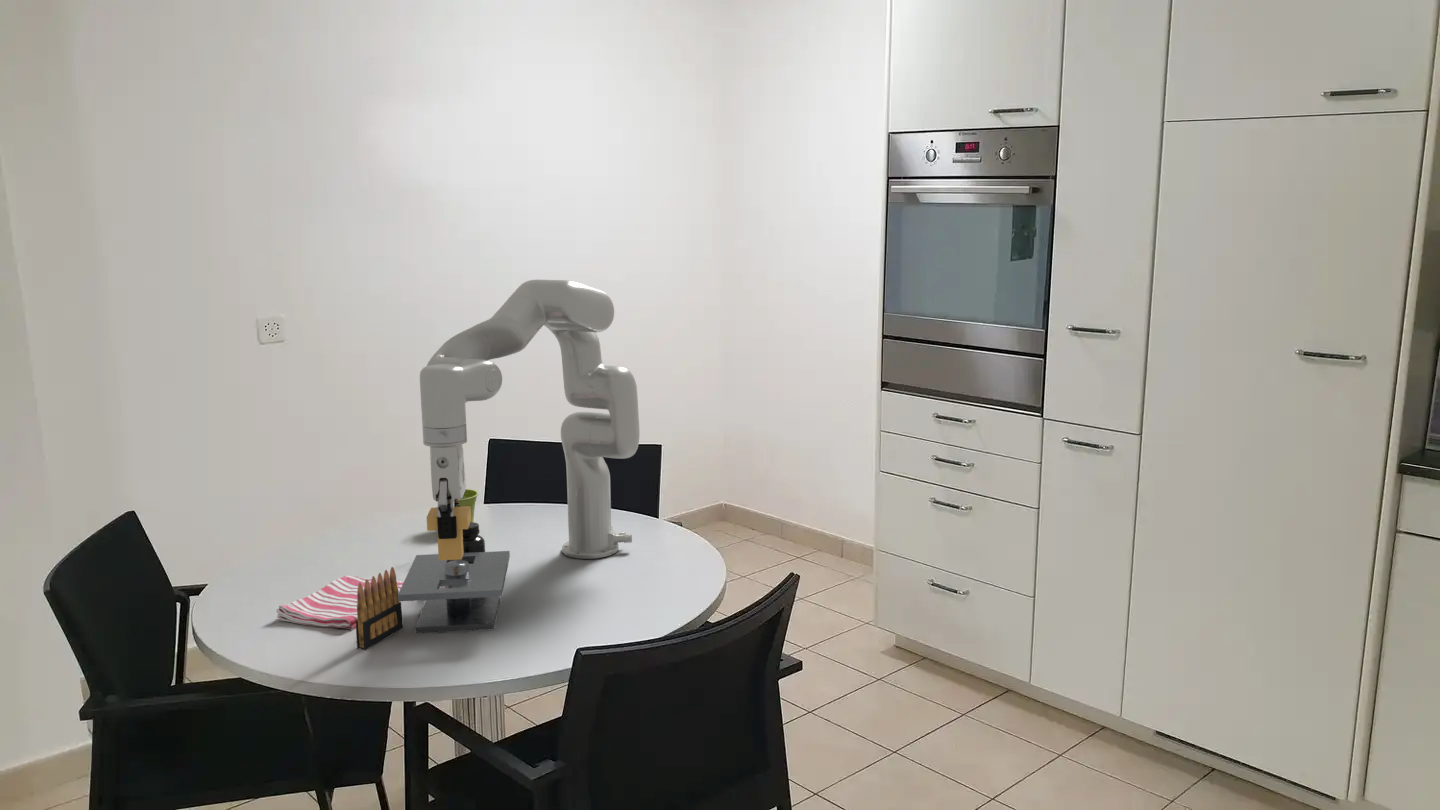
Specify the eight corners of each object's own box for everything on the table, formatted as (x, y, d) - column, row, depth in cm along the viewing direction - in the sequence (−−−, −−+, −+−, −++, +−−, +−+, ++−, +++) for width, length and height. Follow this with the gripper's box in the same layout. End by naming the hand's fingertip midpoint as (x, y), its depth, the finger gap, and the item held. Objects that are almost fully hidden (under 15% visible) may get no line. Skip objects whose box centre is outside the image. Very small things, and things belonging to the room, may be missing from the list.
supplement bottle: (493, 577, 223) (490, 522, 221) (475, 588, 217) (472, 531, 214) (464, 573, 225) (461, 518, 223) (446, 584, 219) (443, 528, 217)
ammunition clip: (395, 626, 197) (391, 564, 195) (403, 627, 197) (399, 565, 194) (356, 648, 187) (351, 583, 185) (365, 650, 187) (360, 585, 185)
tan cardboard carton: (472, 550, 196) (470, 506, 194) (469, 561, 190) (467, 515, 188) (433, 552, 195) (431, 507, 193) (429, 563, 189) (426, 517, 187)
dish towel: (273, 624, 200) (272, 607, 199) (349, 582, 222) (348, 566, 221) (351, 634, 195) (350, 616, 194) (421, 590, 217) (420, 574, 216)
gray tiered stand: (511, 593, 213) (509, 543, 211) (503, 637, 192) (501, 581, 190) (419, 598, 211) (415, 547, 209) (400, 643, 190) (397, 587, 188)
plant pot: (474, 534, 252) (473, 499, 250) (435, 535, 252) (432, 499, 250) (483, 523, 261) (482, 488, 259) (445, 523, 261) (443, 488, 259)
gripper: (461, 444, 180) (466, 546, 184) (471, 424, 197) (475, 518, 200) (415, 446, 179) (421, 548, 183) (429, 425, 196) (434, 519, 199)
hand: (449, 531), depth 192 cm, fingers closed on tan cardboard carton, 6 cm apart
